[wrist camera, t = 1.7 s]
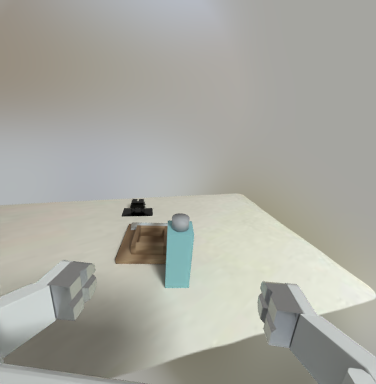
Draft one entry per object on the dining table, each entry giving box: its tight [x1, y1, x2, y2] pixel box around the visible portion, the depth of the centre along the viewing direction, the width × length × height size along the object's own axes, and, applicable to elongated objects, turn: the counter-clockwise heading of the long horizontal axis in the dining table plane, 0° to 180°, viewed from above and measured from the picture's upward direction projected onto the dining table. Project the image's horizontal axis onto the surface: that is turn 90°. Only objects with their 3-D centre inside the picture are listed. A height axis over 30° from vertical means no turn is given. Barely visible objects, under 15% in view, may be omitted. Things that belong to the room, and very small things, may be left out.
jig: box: [115, 223, 168, 264], centre depth 47 cm, size 14×14×4 cm
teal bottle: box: [165, 214, 194, 288], centre depth 35 cm, size 4×4×14 cm
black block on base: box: [122, 199, 153, 216], centre depth 62 cm, size 12×7×5 cm, turn 100°
